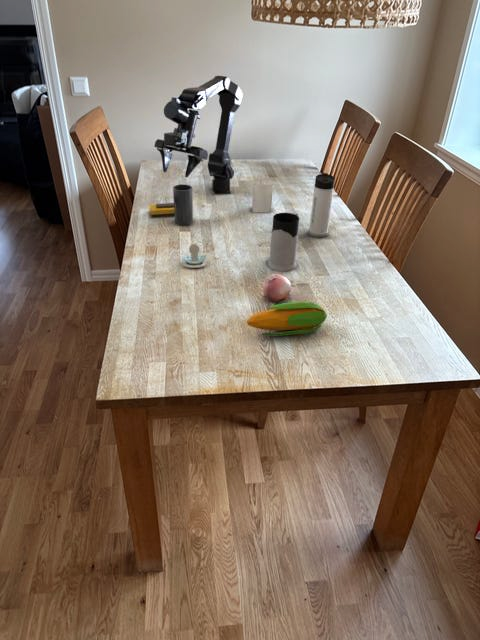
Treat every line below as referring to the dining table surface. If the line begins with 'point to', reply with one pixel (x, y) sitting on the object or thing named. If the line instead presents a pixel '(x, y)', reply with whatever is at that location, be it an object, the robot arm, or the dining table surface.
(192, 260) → the pacifier
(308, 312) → the corn
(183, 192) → the tumbler
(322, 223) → the travel mug
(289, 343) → the dining table surface
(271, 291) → the onion
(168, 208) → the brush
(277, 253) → the glass holder
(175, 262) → the dining table surface
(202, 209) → the dining table surface
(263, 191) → the beige rectangular block
